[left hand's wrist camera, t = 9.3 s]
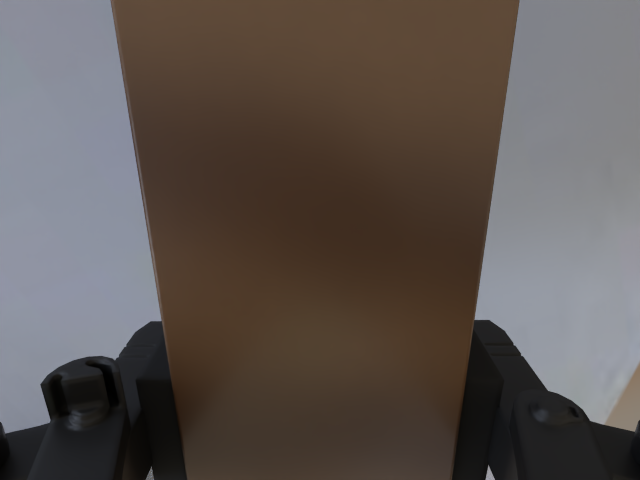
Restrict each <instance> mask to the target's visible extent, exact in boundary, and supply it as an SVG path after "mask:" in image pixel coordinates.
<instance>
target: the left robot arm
mask: <svg viewBox="0 0 640 480" xmlns="http://www.w3.org/2000/svg"><path fill="white" fill-rule="evenodd" d="M40 385H41V388H42V392H43V395H44V398H45V402H46V405H47V409H48V412H49V416H50V419H51V421H50V423H48V424H44V425H41V426H37V427H33V428H28V429H24V430H19V431H15V432H11V433H6V434H5V432H4V429H3V426H2V423H1V422H0V480H146V477H147V475H148V473H149V470H150V468H151V466H152V470H153V476H154V480H187V476H186V470H185V463H184V457H183V451H182V445H181V438H180V432H179V426H178V419H177V413H176V407H175V401H174V394H173V388H172V382H171V376H170V369H169V363H168V357H167V350H166V344H165V338H164V332H163V325H162V321H151V322H149V323H148V324H146V325H145V326H144V327H142V328H141V329H139V330H138V331H136V332H135V334H134V335H133V336H132V338H131V339H130V340H129V342H128V343H127V346H126V347H124V349H123V350H122V352H121V353H120V354H119V358H117V359H116V360H113V359H112V358H108V357H104V356H93V357H85V358H81V359H77V360H73V361H71V362H69V363H67V364H65V365H62V366H60V367H58V368H57V369H56V370H54V371H53V372H51V373H50V374H49V375H47V377H46V378H45V379H44V381H43V382H42V383H41V384H40ZM488 464H489V467H490V469H491V471H492V474H493V476H494V478H495V480H640V420H639V422H638V425H637V427H636V430H635V432H633V431H628V430H624V429H619V428H615V427H611V426H606V425H602V424H598V423H595V422H592V421H590V420H589V418H588V417H587V415H586V414H585V412H584V411H583V410H582V409H581V408H580V407H579V406H578V405H576V404H575V403H574V402H573V401H571V400H569V399H567V398H565V397H563V396H561V395H559V394H557V393H553V392H550V391H548V390H547V389H546V388H545V386H544V385H543V383H542V382H541V381H540V379H539V378H538V377H537V375H536V374H535V372H534V371H533V370H532V368H531V367H530V365H529V364H528V363H527V361H526V360H525V359H524V357H523V356H521V353H520V352H519V350H518V349H517V347H516V346H514V345H513V342H512V341H511V339H510V338H509V336H508V335H507V334H506V332H505V331H504V330H503V329H501V328H500V327H498V326H497V325H495V324H494V323H493V322H491V321H490V320H474V326H473V333H472V340H471V347H470V354H469V361H468V368H467V375H466V382H465V389H464V397H463V404H462V411H461V418H460V425H459V432H458V439H457V446H456V453H455V460H454V467H453V474H452V480H485V479H486V474H487V469H488Z"/></svg>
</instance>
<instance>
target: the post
mask: <svg viewBox="0 0 640 480" xmlns="http://www.w3.org/2000/svg"><path fill="white" fill-rule="evenodd" d="M111 5H112V12H113V18H114V24H115V30H116V37H117V43H118V49H119V55H120V62H121V68H122V74H123V81H124V87H125V93H126V99H127V106H128V112H129V118H130V125H131V131H132V137H133V143H134V150H135V156H136V162H137V168H138V175H139V181H140V187H141V194H142V200H143V206H144V212H145V219H146V225H147V231H148V237H149V244H150V250H151V256H152V263H153V269H154V275H155V281H156V288H157V294H158V300H159V307H160V313H161V319H162V325H163V332H164V338H165V344H166V350H167V357H168V363H169V369H170V376H171V382H172V388H173V394H174V401H175V407H176V413H177V419H178V426H179V432H180V438H181V445H182V451H183V457H184V463H185V470H186V476H187V480H452V474H453V467H454V460H455V453H456V446H457V439H458V432H459V425H460V418H461V411H462V404H463V397H464V389H465V382H466V375H467V368H468V361H469V354H470V347H471V340H472V333H473V326H474V319H475V312H476V304H477V297H478V290H479V283H480V276H481V269H482V262H483V255H484V248H485V241H486V234H487V227H488V219H489V212H490V205H491V198H492V191H493V184H494V177H495V170H496V163H497V156H498V149H499V142H500V134H501V127H502V120H503V113H504V106H505V99H506V92H507V85H508V78H509V71H510V64H511V57H512V49H513V42H514V35H515V28H516V21H517V14H518V7H519V0H111Z"/></svg>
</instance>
